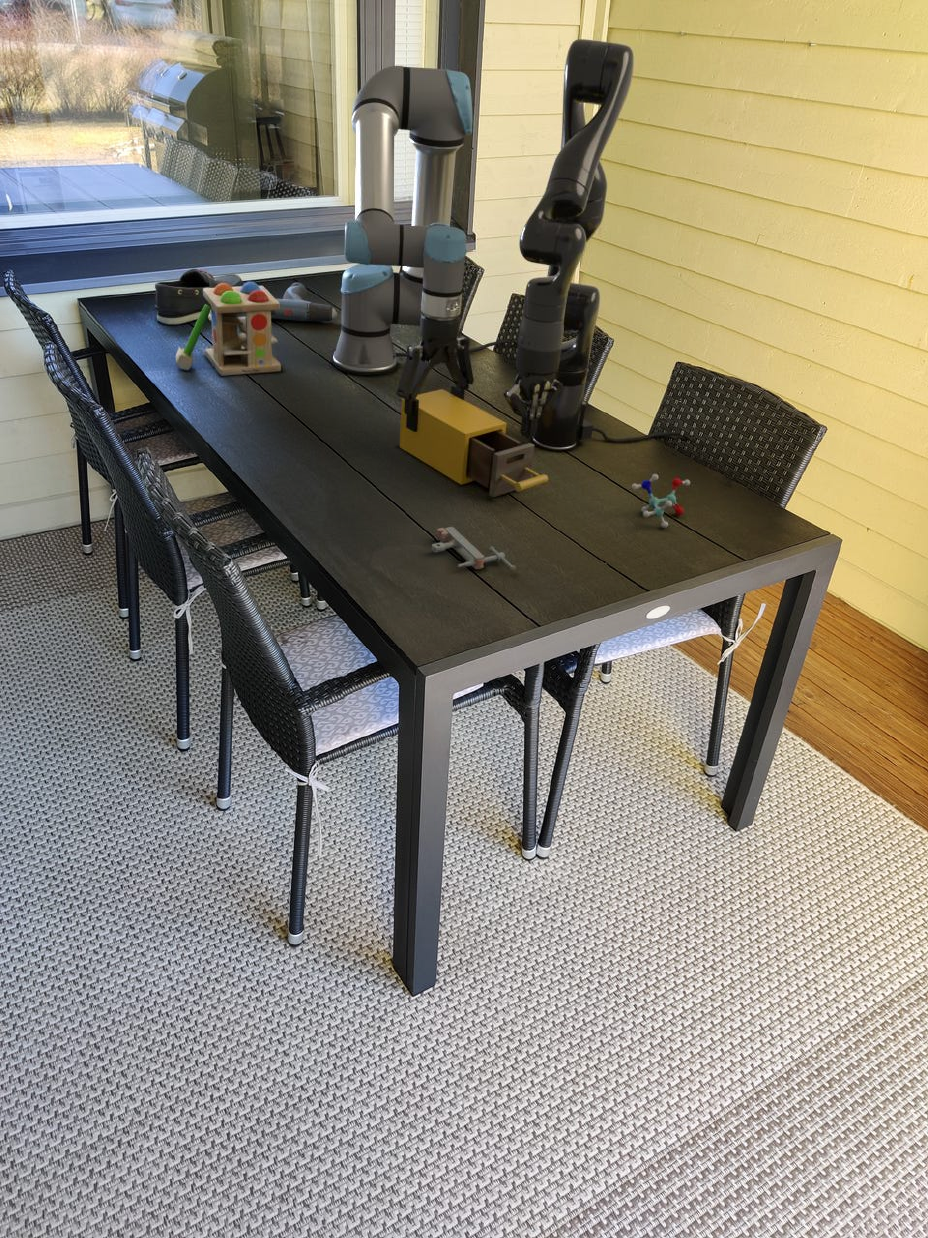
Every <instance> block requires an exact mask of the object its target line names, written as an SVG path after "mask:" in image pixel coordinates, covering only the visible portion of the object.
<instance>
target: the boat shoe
mask: <svg viewBox="0 0 928 1238" xmlns="http://www.w3.org/2000/svg"><path fill="white" fill-rule="evenodd" d="M221 283H226V284H228V285H230V286H231V287H242V286H243V285H244V284H245V283H244V281H243V280H242V278H241V276H239V275H238V274H234V273H229V274H224V275H217V276H213V275H211V273H209V272H207V271H205V270H202V269H198V268H191V269H189V270H186V271H185V272H184V273H182V274H181V276H180V277H179V279H178V280H172V281H158V282H155V284H154V289H155V305H154V309H155V310H157V312H156V318H157V319H156V320H157V321H159V322H160V323H162V324H165V325H180V324H184V323H189V322H192V321H197V320H198V318H199V316H200V314H201V311H202V309H203V307H204V305H208V306H210V307H211V305H210V304H209V302H208V301H207V300H206V299H205V297H204V296H203V289H204V288H215V287H216V286H217V285H218V284H221ZM209 314H211V310H210V312H209Z"/></svg>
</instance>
